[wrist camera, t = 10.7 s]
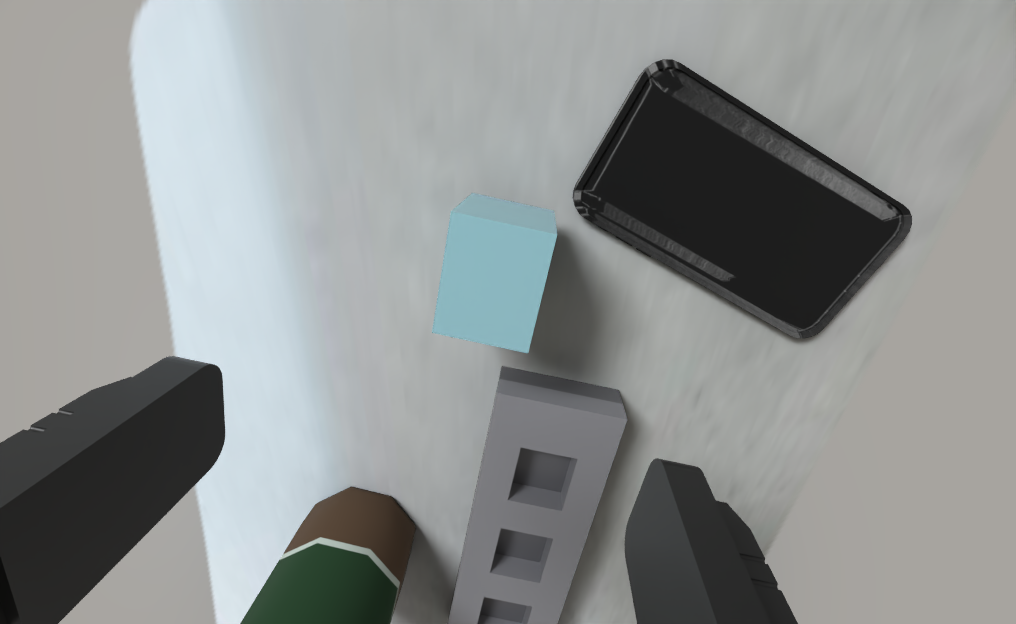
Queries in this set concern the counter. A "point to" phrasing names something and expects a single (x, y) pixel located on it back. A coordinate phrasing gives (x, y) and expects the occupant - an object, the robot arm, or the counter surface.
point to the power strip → (535, 497)
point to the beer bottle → (340, 564)
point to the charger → (494, 271)
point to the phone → (737, 202)
